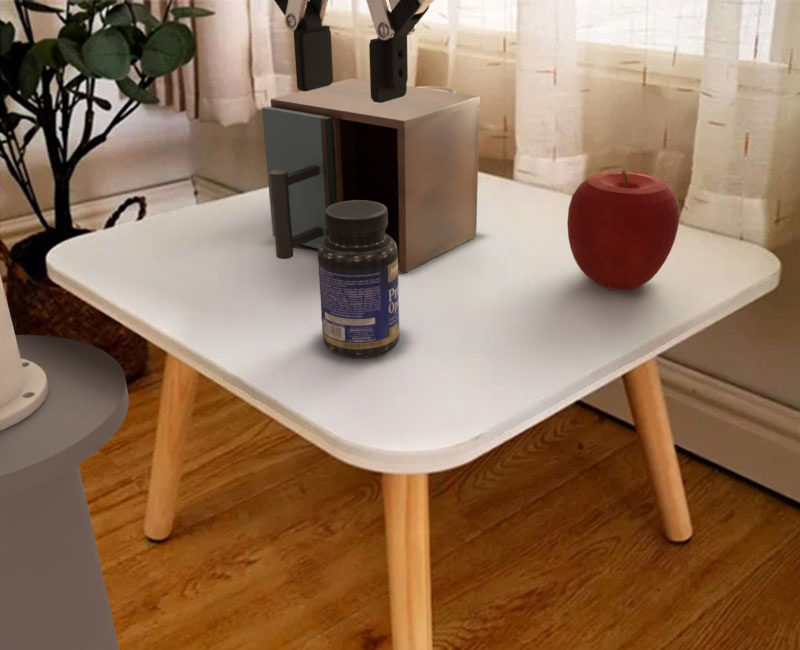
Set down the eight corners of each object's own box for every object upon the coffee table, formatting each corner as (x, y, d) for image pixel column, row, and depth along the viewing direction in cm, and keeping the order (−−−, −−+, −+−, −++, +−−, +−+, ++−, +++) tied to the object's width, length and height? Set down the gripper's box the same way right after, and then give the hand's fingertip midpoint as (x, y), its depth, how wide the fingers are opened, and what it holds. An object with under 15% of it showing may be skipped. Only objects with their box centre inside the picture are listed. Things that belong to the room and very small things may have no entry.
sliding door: (291, 271, 87) (280, 131, 81) (231, 253, 91) (216, 119, 85) (338, 250, 92) (331, 116, 85) (278, 234, 96) (267, 106, 90)
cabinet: (406, 272, 88) (404, 120, 81) (281, 239, 97) (270, 99, 90) (476, 236, 96) (480, 96, 89) (355, 208, 105) (350, 78, 98)
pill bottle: (406, 355, 73) (405, 218, 68) (329, 364, 72) (321, 225, 67) (390, 323, 78) (387, 193, 73) (318, 330, 77) (309, 200, 72)
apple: (692, 293, 83) (708, 182, 78) (596, 310, 80) (608, 196, 75) (632, 257, 91) (644, 154, 86) (543, 272, 88) (550, 165, 83)
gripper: (195, -209, 59) (225, 88, 68) (417, -228, 50) (419, 120, 59) (278, -205, 64) (296, 72, 73) (494, -220, 55) (484, 98, 64)
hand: (351, 90), depth 66 cm, fingers open, 6 cm apart
